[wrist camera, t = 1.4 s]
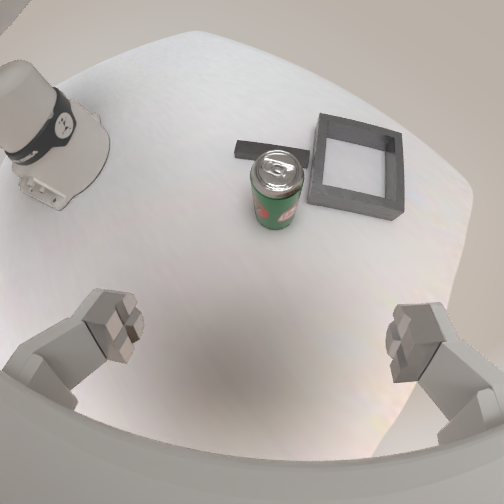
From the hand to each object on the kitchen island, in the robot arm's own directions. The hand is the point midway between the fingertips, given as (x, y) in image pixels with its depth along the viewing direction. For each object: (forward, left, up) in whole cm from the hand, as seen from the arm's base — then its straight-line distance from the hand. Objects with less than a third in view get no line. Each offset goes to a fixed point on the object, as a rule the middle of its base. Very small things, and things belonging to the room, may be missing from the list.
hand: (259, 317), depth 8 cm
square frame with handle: (+4, +20, -27) cm, 33 cm away
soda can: (-1, +12, -27) cm, 29 cm away
